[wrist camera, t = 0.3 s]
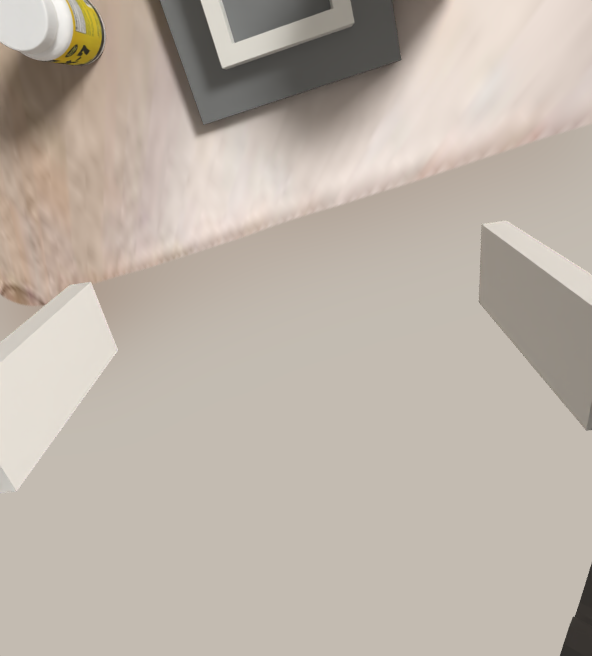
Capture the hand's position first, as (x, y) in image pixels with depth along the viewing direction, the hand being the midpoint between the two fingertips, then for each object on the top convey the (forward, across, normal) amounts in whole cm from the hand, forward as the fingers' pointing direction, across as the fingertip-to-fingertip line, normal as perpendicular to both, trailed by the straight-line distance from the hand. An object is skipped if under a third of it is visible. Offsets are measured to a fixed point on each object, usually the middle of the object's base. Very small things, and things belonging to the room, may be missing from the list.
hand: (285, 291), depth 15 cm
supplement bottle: (+27, -15, +13) cm, 33 cm away
